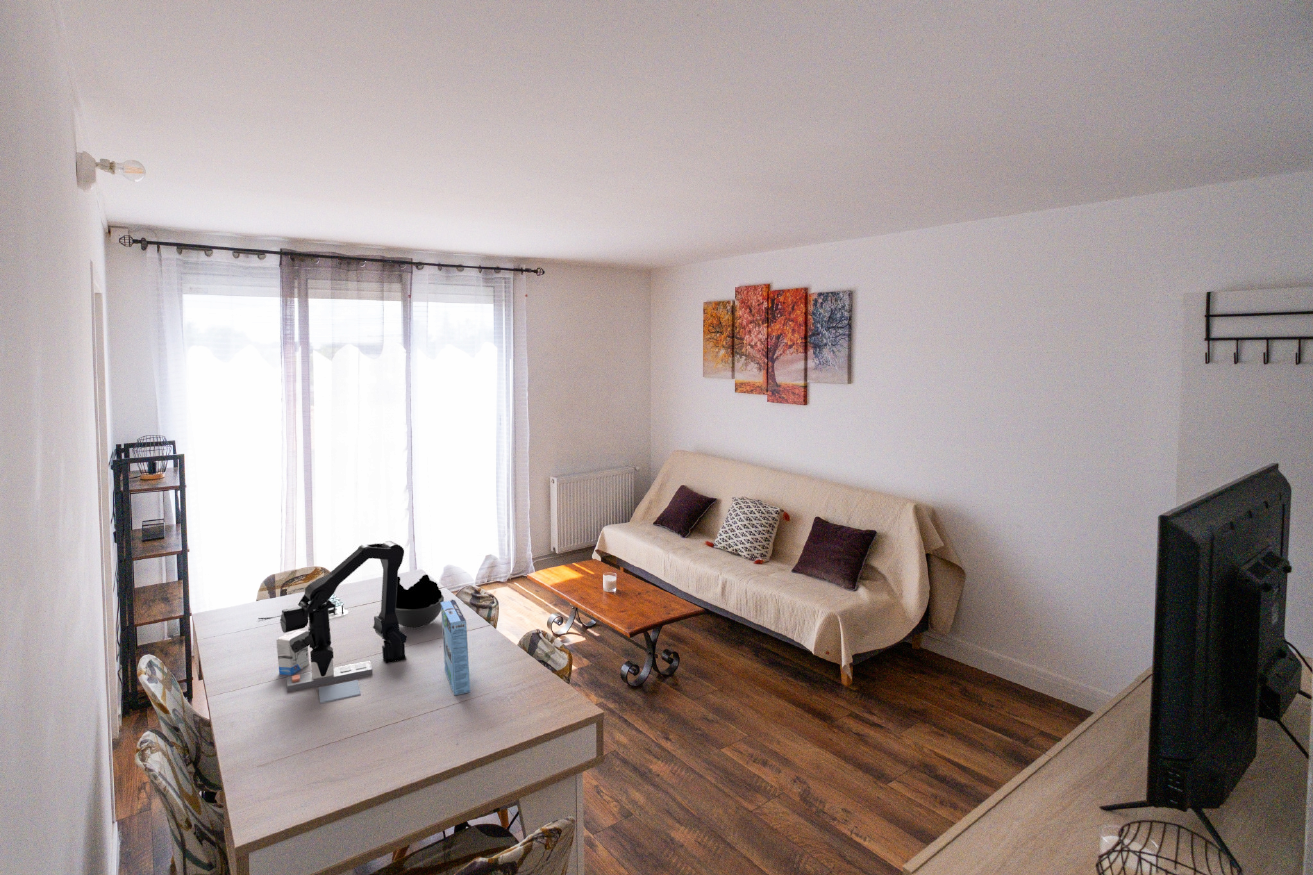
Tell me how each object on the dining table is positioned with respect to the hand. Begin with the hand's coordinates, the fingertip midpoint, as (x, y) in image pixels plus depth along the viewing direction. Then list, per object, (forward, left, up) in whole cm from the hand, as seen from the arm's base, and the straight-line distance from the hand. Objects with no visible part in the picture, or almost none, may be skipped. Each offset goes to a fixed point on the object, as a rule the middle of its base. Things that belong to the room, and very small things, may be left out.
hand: (322, 671), depth 220 cm
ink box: (+8, -13, -3) cm, 16 cm away
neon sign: (+5, -63, -4) cm, 64 cm away
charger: (0, 0, -3) cm, 3 cm away
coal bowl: (-33, -31, -3) cm, 45 cm away
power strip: (-2, 0, -3) cm, 4 cm away
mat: (-4, +11, -3) cm, 12 cm away
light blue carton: (-37, +20, -3) cm, 42 cm away
